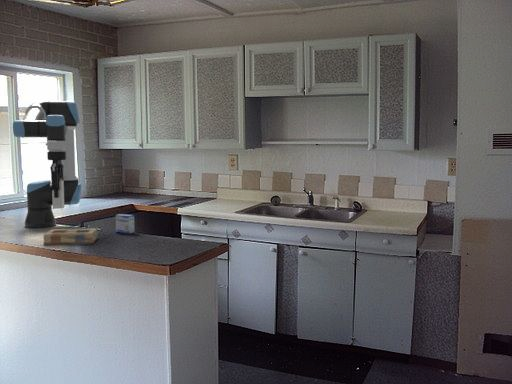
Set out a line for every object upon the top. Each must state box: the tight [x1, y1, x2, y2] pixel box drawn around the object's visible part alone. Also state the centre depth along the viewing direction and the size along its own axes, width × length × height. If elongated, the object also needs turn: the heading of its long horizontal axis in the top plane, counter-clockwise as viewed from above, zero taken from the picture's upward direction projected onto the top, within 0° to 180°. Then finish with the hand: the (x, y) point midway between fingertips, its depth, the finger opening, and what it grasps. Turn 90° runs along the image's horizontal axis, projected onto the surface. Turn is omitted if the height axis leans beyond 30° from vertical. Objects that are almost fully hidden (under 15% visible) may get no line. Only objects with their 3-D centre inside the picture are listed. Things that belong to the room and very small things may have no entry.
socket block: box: [43, 227, 98, 246], centre depth 234 cm, size 14×20×5 cm
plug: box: [52, 178, 65, 210], centre depth 231 cm, size 4×4×13 cm
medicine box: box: [115, 213, 135, 234], centre depth 256 cm, size 8×4×9 cm, turn 70°
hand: (58, 204), depth 232 cm, fingers closed on plug, 4 cm apart
